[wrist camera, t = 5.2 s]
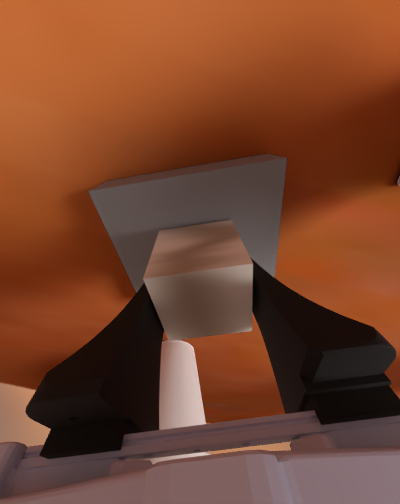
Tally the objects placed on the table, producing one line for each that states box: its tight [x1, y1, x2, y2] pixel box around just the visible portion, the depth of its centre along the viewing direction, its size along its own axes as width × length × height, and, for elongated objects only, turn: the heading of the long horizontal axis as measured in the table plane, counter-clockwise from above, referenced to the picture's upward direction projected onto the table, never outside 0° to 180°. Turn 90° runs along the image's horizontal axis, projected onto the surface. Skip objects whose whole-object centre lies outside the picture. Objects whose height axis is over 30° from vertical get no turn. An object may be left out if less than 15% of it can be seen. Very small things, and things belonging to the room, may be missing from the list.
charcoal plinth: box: [88, 154, 287, 293], centre depth 15 cm, size 12×12×3 cm
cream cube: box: [143, 220, 253, 341], centre depth 12 cm, size 5×5×5 cm
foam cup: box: [144, 340, 211, 464], centre depth 21 cm, size 10×9×13 cm
